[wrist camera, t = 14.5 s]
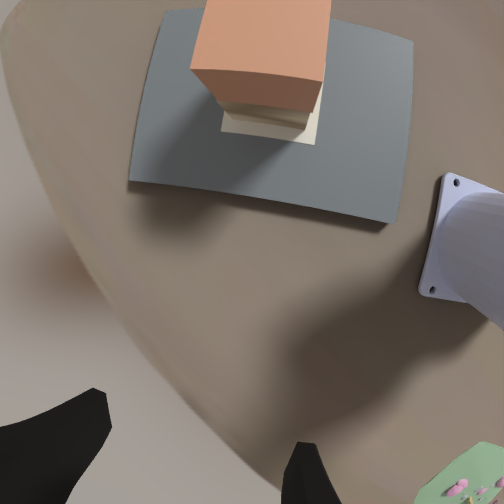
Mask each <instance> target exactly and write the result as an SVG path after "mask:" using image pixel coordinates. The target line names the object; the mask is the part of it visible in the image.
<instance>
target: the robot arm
mask: <svg viewBox="0 0 504 504" xmlns="http://www.w3.org/2000/svg"><path fill="white" fill-rule="evenodd" d="M454 179H455V180H456V181H457V185H456V186H454V182H453V181H454ZM432 286H434V289H433V291H431V292H429V290H430V288H431V287H432ZM418 291H419V293H420V294H421V295H423V296H426V297H432V298H438V299H445V300H451V301H457V302H464V303H469V304H470V305H472V306H473V307H474V308H476V309H477V310H478V311H480V312H481V313H482V314H483V315H485V316H486V317H487V318H488V319H490V320H491V321H492V322H493V323H495V324H496V325H497V326H498V327H500V328H501V329H502V330H503V331H504V194H503V193H501V192H499V191H496V190H494V189H492V188H489V187H487V186H484V185H482V184H479V183H477V182H474V181H472V180H469V179H467V178H464V177H461V176H458V175H456V174H453V173H445V174H444V175H443V176H442V181H441V188H440V194H439V200H438V206H437V211H436V216H435V222H434V226H433V231H432V236H431V240H430V244H429V249H428V253H427V257H426V261H425V264H424V268H423V272H422V276H421V279H420V283H419V286H418ZM111 428H112V424H111V419H110V414H109V409H108V403H107V397H106V393H104V392H102V391H100V390H97V389H95V388H91V389H89V390H87V391H86V392H84V393H82V394H80V395H78V396H76V397H74V398H72V399H70V400H68V401H66V402H65V403H63V404H61V405H59V406H57V407H54V408H52V409H50V410H48V411H46V412H44V413H41V414H39V415H37V416H34V417H32V418H29V419H26V420H24V421H21V422H18V423H14V424H10V425H7V426H2V427H0V504H65V503H66V501H67V499H68V497H69V495H70V493H71V491H72V489H73V488H74V486H75V485H76V483H77V482H78V480H79V479H80V477H81V476H82V475H83V473H84V472H85V470H86V469H87V468H88V466H89V465H90V463H91V462H92V460H93V459H94V458H95V456H96V455H97V453H98V452H99V451H100V449H101V448H102V446H103V444H104V442H105V440H106V438H107V436H108V435H109V432H110V430H111ZM281 504H342V503H341V501H340V500H339V498H338V496H337V494H336V492H335V490H334V488H333V486H332V484H331V482H330V480H329V477H328V475H327V473H326V471H325V468H324V466H323V463H322V461H321V458H320V455H319V452H318V450H317V446H316V445H315V444H314V443H304V442H297V444H296V446H295V449H294V451H293V453H292V456H291V458H290V460H289V463H288V465H287V467H286V469H285V471H284V478H283V485H282V493H281Z"/></svg>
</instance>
